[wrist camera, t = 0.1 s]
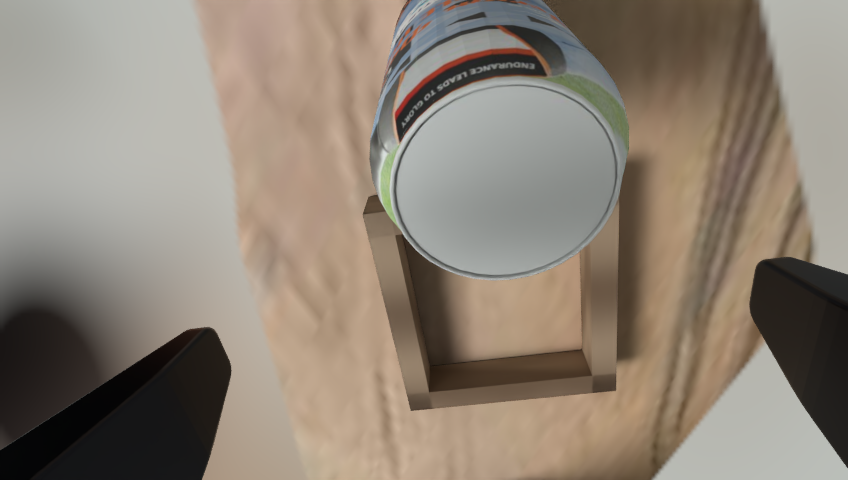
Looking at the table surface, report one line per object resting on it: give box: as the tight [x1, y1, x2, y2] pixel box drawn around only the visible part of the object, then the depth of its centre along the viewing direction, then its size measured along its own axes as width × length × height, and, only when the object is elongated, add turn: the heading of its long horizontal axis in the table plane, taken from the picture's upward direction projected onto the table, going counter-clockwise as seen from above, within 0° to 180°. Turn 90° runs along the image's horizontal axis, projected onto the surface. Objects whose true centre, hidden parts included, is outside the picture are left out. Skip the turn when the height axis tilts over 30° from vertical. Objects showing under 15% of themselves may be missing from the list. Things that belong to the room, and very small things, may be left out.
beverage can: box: [370, 0, 629, 280], centre depth 15 cm, size 6×7×12 cm
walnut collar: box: [363, 196, 619, 411], centre depth 24 cm, size 12×11×2 cm
